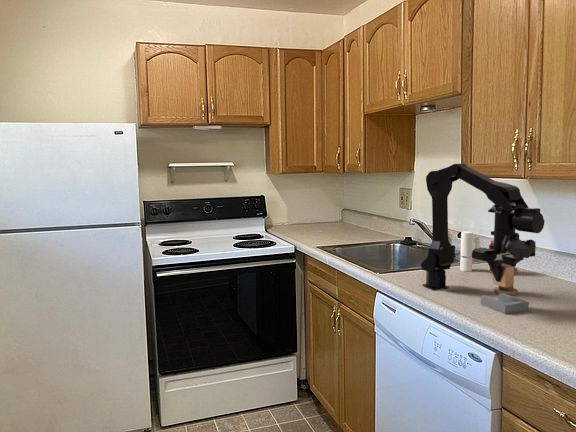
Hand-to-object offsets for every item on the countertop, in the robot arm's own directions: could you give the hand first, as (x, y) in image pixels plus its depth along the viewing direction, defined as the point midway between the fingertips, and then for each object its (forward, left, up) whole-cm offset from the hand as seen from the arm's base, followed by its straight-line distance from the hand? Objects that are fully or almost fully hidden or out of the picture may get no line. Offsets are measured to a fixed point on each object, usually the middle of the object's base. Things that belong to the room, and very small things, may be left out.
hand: (502, 281), depth 145 cm
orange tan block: (0, 0, -1) cm, 1 cm away
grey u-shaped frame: (0, 0, -8) cm, 8 cm away
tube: (-41, +21, -8) cm, 47 cm away
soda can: (-33, +29, -8) cm, 45 cm away
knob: (-11, +12, -8) cm, 18 cm away
